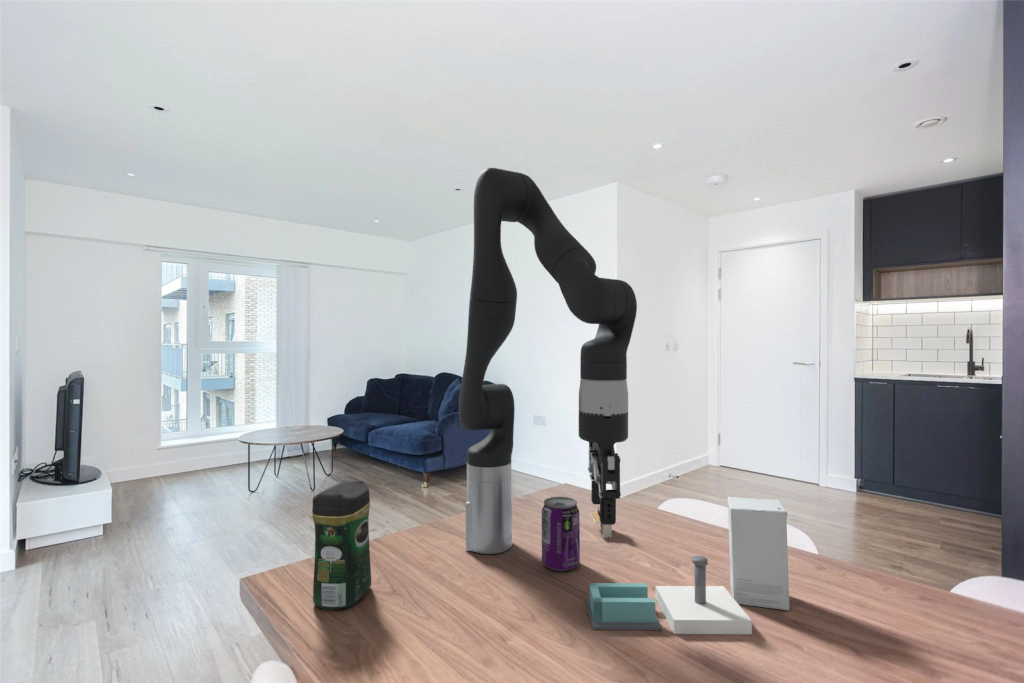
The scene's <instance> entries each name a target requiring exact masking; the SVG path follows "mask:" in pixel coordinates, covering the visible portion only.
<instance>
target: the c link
mask: <svg viewBox="0 0 1024 683" xmlns="http://www.w3.org/2000/svg"><path fill="white" fill-rule="evenodd" d="M648 589H649V588H648V585H647V583H646V582H639V583H638V582H637V583H636V582H635V583H634V582H632V583H631V582H630V583H629V582H628V583H627V582H617V583H616V582H609V583H608V582H589V583H588V599H589V603H590V607H591V611H592V615H593V619H594V622H644V623H655V615H656V601H655V599H654V597H648V596H649V595H648Z"/></svg>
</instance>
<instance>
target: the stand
mask: <svg viewBox="0 0 1024 683" xmlns="http://www.w3.org/2000/svg"><path fill="white" fill-rule="evenodd" d="M691 558H692V560H691V561H692V563H693V564H694V585H655V586H654V587H655V589H654V591H655V600H656V602H657V604H658V606H659V608H660V609H661V611H662V614H663V616H664V618H665V619H666V621H667V623H668V625H669V626H670V629H671V630H672V632H673V635H752V634H753V628H752V625H753V623H752V622H753V621H752V619H751V618H750V616H749V615H748V614H747V613H746V611H745V610H744V609H743V608H742V607H741V605H740V604H738V603H737V602H736V601H735V600H734V598H733V596H732V594H730V592H729V591H728V590H727V589H726V588H725V586H724V585H722V586H721V585H715V586H714V585H711V586H710V585H707V581H706V580H707V579H706V577H707V576H706V575H707V574H706V573H707V572H706V570H707V568H706V566H708V565H709V564H708V563H709V561H708V560H709V559H708V558H707V557H705V556H703V555H693V556H692V557H691Z"/></svg>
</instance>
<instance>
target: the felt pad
mask: <svg viewBox="0 0 1024 683" xmlns="http://www.w3.org/2000/svg"><path fill="white" fill-rule="evenodd" d="M585 603H586V607H587V608H586V609H587V612H588V616H589V620H590V625H591V628H592V630H596V631H597V630H601V631H603V630H606V631H607V630H608V631H609V630H613V631H614V630H617V631H619V630H621V631H624V630H627V631H628V630H629V631H631V630H632V631H634V630H635V631H637V630H639V631H641V630H643V631H647V630H648V631H650V630H651V631H662V630H663V629H662V628H663V627H662V625H661V623H660V621H659V619H658V617H657V615H656V614H655V623H644V622H594V619H593V615H592V611H591V607H590V603H589V598H585Z"/></svg>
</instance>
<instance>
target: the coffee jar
mask: <svg viewBox="0 0 1024 683" xmlns="http://www.w3.org/2000/svg"><path fill="white" fill-rule="evenodd" d="M370 507H371V498H370V489H369V487H368V485H367V484H366V483H365V482H364V481H361V480H345V479H344V480H341V481H340V482H338V483H335V484H334V485H332V486H329V487H328V488H326V489H324V490H322V491H321V492H318V493H317V494H316V495H314V496H313V497H312V510H311V511H312V512H311V515H312V520H313V523H314V524H313V525H314V533H315V534H314V538H315V539H314V567H313V568H314V569H313V585H312V586H313V587H312V589H313V590H312V602H313V605H315V606H317V607H319V608H321V609H324V610H328V611H329V610H331V611H334V610H335V611H337V610H340V609H341V610H342V609H347V608H352V606H354V605H356V604H357V603H358V602H359V601H361V600H362V598H363V597H364V596H365V595H366V594H367V592H368V591H369V589H370V588H371V586H372V567H371V554H370V553H371V552H370V531H369V529H370V528H369V526H370V525H369V521H370V520H369V519H370V518H369V515H370Z"/></svg>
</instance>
